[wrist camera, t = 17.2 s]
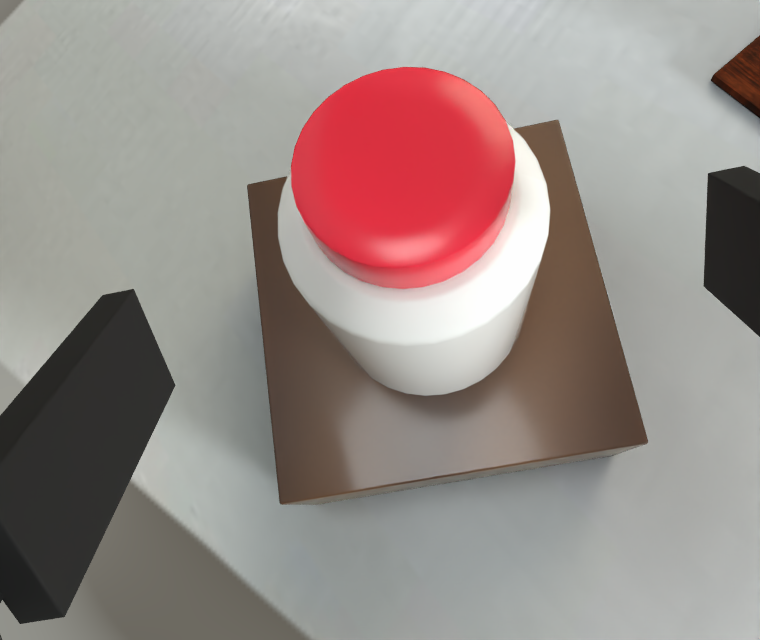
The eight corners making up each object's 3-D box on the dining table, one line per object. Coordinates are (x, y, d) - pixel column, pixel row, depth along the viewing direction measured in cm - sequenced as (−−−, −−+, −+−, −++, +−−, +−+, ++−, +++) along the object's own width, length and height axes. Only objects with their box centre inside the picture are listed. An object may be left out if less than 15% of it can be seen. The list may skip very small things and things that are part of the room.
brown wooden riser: (315, 504, 30) (279, 504, 24) (283, 237, 34) (246, 184, 28) (613, 455, 29) (649, 443, 23) (543, 185, 33) (558, 118, 27)
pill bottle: (323, 234, 27) (233, 64, 17) (502, 198, 27) (525, -2, 16) (347, 411, 25) (260, 343, 14) (544, 377, 24) (602, 280, 14)
